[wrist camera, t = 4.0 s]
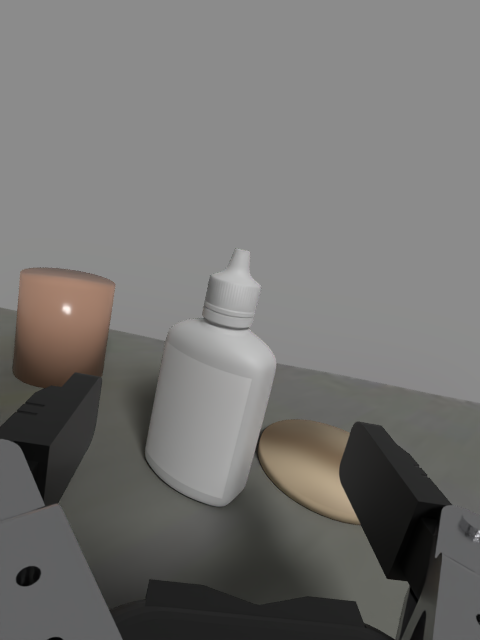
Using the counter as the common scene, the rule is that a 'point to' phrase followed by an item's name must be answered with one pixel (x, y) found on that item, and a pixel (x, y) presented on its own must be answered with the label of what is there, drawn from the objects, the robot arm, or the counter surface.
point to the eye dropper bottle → (212, 392)
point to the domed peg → (61, 325)
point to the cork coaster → (308, 465)
